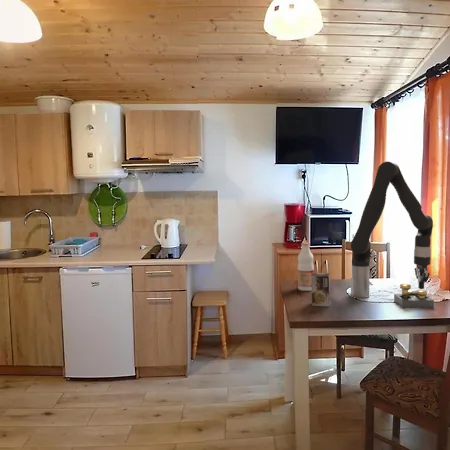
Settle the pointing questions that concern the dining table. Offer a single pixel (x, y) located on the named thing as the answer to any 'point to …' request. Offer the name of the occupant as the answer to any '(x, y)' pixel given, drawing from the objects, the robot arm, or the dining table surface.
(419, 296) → the brass knob
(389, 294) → the dining table surface
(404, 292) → the brass knob
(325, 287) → the coffee box
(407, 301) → the level base plate
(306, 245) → the fruit juice
